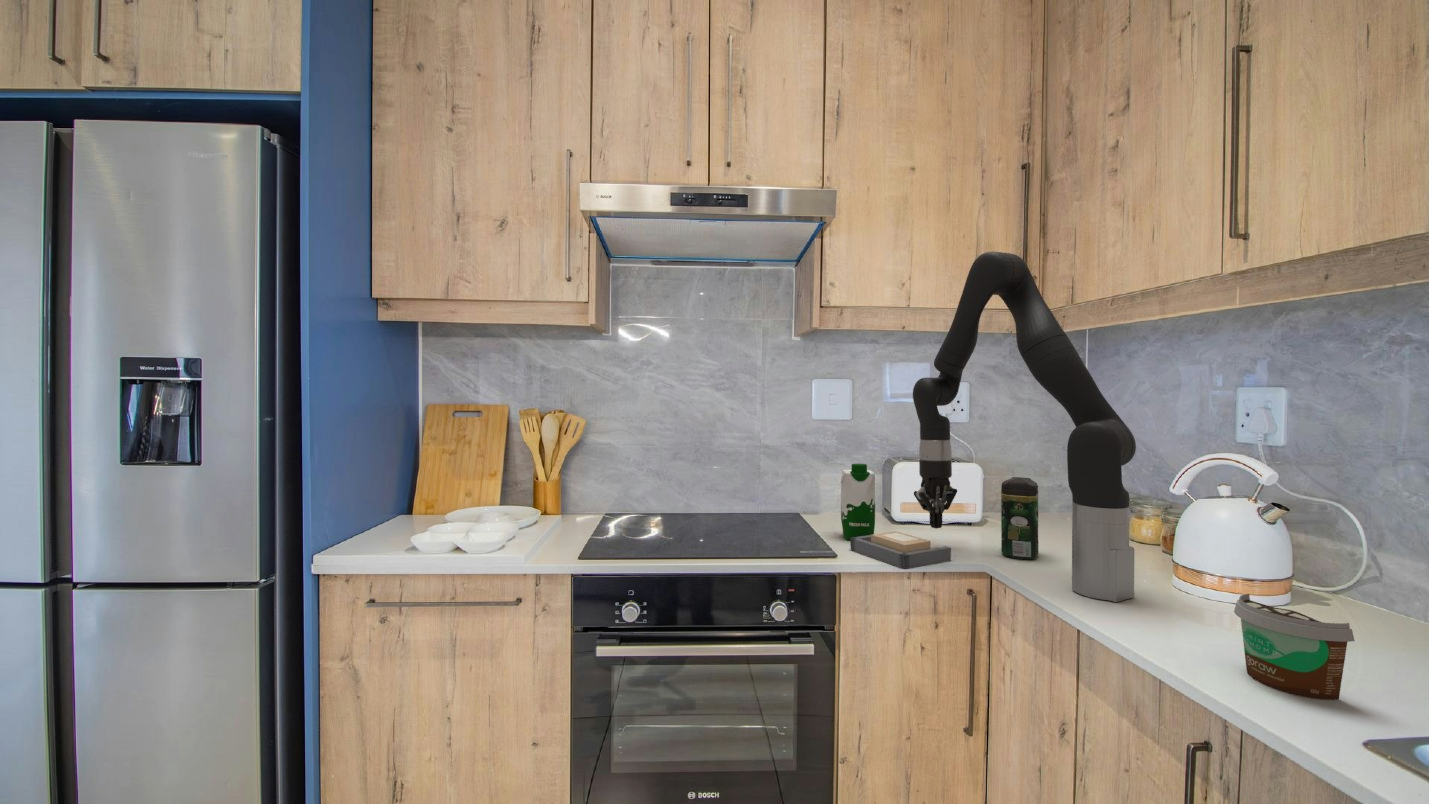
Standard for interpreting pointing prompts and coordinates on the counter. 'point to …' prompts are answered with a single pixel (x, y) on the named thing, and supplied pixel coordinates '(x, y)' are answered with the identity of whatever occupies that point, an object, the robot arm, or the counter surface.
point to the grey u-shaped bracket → (900, 553)
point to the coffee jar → (1019, 518)
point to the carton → (900, 541)
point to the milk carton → (857, 501)
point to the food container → (1293, 650)
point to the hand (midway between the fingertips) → (936, 527)
